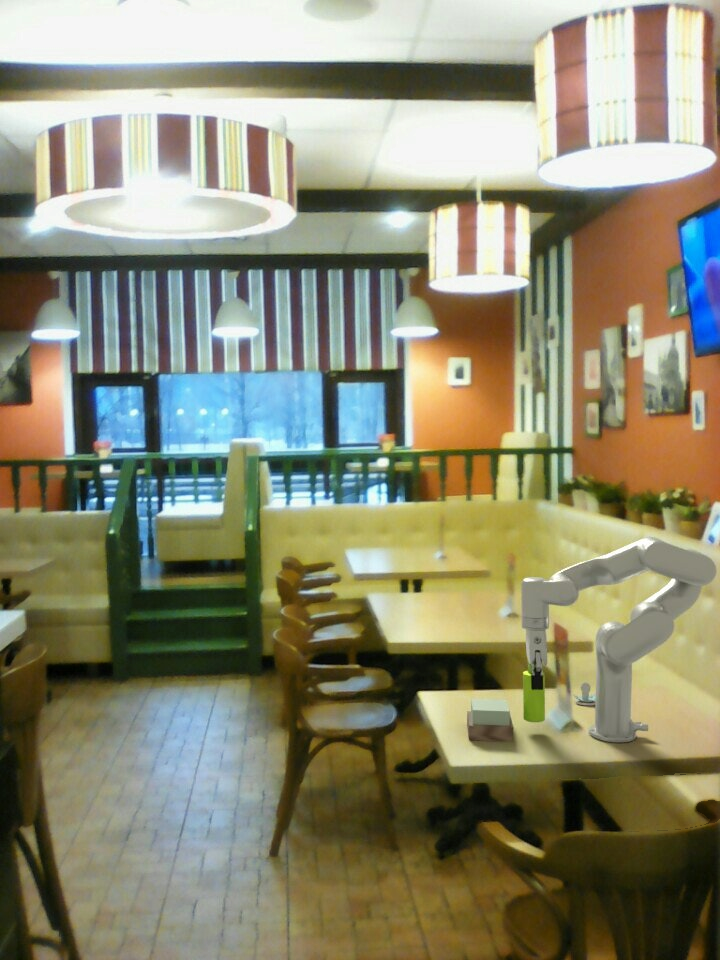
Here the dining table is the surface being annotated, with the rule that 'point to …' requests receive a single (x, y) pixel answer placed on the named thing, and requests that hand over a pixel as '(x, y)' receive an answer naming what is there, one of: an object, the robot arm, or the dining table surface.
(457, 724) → the dining table surface
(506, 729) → the riser base
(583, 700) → the pacifier
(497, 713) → the pale green square tile
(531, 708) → the soap dispenser
